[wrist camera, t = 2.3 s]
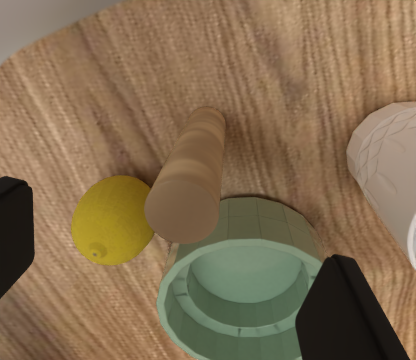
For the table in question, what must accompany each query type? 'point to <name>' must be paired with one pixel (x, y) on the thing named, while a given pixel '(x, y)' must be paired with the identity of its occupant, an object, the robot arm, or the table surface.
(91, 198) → the lemon
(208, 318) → the bowl
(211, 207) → the stick
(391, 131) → the white cup
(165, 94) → the table surface
